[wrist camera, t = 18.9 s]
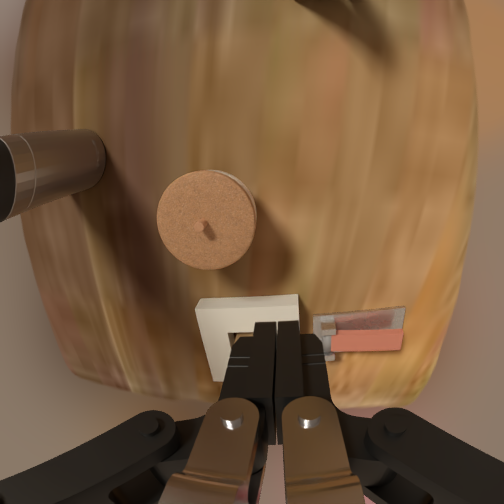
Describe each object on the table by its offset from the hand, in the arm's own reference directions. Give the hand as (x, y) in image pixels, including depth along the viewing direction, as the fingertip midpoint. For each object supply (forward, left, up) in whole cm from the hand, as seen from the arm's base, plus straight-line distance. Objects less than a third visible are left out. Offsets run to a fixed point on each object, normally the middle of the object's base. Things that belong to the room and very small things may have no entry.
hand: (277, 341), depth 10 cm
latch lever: (+10, -20, -26) cm, 34 cm away
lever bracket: (+10, -20, -28) cm, 36 cm away
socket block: (-6, -20, -28) cm, 35 cm away
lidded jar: (-8, 0, -28) cm, 29 cm away
